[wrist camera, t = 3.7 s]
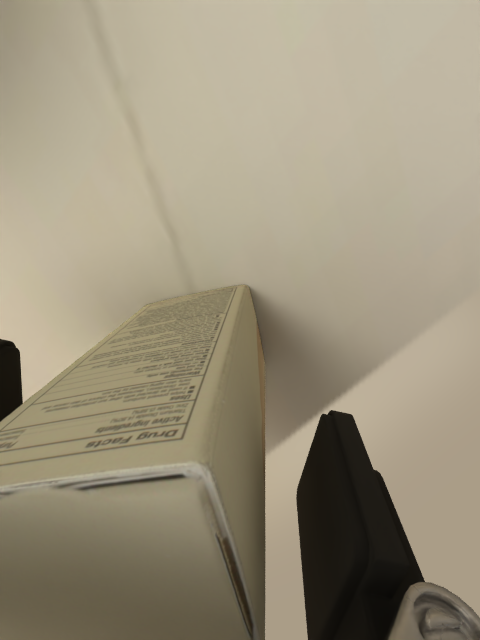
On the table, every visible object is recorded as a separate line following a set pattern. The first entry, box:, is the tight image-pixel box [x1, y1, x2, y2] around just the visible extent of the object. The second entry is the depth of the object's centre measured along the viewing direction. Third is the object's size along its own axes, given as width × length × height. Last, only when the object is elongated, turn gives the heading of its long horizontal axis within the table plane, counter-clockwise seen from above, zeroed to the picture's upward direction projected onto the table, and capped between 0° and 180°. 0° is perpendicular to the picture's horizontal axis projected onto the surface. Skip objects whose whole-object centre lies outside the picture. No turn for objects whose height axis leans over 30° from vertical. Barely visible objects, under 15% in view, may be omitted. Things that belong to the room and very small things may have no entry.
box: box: [0, 285, 265, 640], centre depth 10 cm, size 5×4×11 cm
